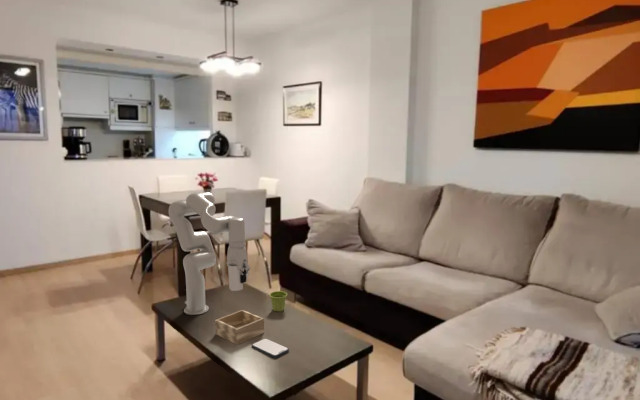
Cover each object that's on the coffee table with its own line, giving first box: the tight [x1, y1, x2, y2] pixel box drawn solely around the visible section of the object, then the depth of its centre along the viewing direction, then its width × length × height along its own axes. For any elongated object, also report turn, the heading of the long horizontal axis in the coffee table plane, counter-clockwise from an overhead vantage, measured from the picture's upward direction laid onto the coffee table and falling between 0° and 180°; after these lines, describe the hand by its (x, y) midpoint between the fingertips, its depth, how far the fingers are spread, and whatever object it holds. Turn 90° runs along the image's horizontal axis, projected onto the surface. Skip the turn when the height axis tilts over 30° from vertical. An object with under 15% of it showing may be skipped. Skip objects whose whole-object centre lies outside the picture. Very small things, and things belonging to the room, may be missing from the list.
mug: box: [227, 264, 250, 292], centre depth 200 cm, size 10×7×12 cm, turn 124°
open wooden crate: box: [214, 309, 265, 345], centre depth 198 cm, size 16×16×7 cm
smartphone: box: [251, 338, 290, 359], centre depth 184 cm, size 9×2×16 cm
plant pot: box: [269, 290, 288, 312], centre depth 226 cm, size 9×9×9 cm
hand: (238, 280), depth 200 cm, fingers closed on mug, 6 cm apart
